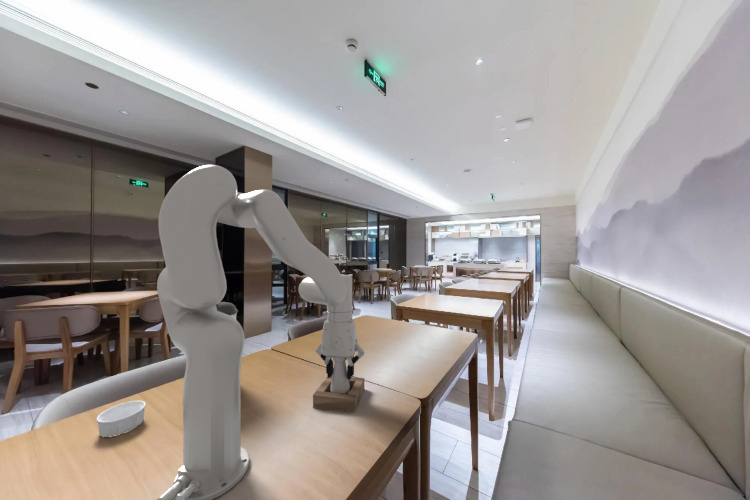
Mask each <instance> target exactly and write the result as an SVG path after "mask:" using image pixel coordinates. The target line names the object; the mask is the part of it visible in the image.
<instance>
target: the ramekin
mask: <svg viewBox="0 0 750 500" xmlns="http://www.w3.org/2000/svg"><path fill="white" fill-rule="evenodd" d="M146 406H147V404H146V402H145V400H144V401H143V400H130V401H126V402H125V401H124V402H122V403H118V404H116V405H112V406H111V407H109V408H107V409H105V410H104V411H102V412H100V413H99V414H98V415H97V416H96V423H97V427H98V434H99V437H101V436H104V437H109V436H114V435H118V434H122V433H124V432H127V431H129V432H131V431H133V430H135V429H136V428H138V427H139V426H140V425H141V424H142V423H143V421H144V417H145V408H146ZM138 425H139V426H138ZM137 426H138V427H137ZM135 427H136V428H135ZM134 428H135V429H134ZM132 429H133V430H132ZM130 430H131V431H130ZM127 433H128V432H127ZM122 435H123V434H122ZM104 437H103V438H104Z"/></svg>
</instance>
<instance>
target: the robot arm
mask: <svg viewBox="0 0 750 500" xmlns="http://www.w3.org/2000/svg"><path fill="white" fill-rule="evenodd" d="M217 223H221V224H225V225H228V226H233V227H238V228H245V229H254V228H255V230H256V231H257V233H258V234H259V235H260V236H261V238H262V239H263V240H264V242H265V243H266V245H267V246H268V248H269V249H270V250H271V251H272V254H273V255H274V256H275V258H277V260H279V261H280V262H282V263H284V264H285V265H287V266H290V267H291V268H294V269H296V270H298V271H300V272H301V273H303V274H304V275H306V277H305V278H303V279H302V280H301V282H300V283H299V286H298V294H299V296H300V297H301V299H302V300H305V301H306V302H308V303H312V304H313V303H314V304H317V305H318V304H320V305H325V306H326V310H325V311H322V317H325V318H326V320H324V321H323V327H322V334H321V341H320V342H321V344H320V345H319V346H317V348H316V349H315V352H316V354H317V355H319V356H320V358H321V359H322V360H323V362H324V365H325V372H326V373H325V374H327V377H328V378H330V377H331V376H332V375H333V369H334V361H333V357H347V360H346V361H347V362H348V365H346V368H347V379H348V380H350V379H351V377H354V375H355V363H357V362H358V361H359V359H361V358H362V357H364V355H365V353H366V352H365V350H364V349H363V348H362V346H361V345H360V344H359V342H358V332H357V328H356V322H355V320H354V319H353V279H352V276H350V275H349V274H341V272H340V271H339V269H338V267H337V265H335V263H334V262H333V260H331V259H330V257H328V256H327V255H326V254H325V253H324V252H322V251H321V249H319V248H318V247H317V246H315V245H314V244H313V243H312V242H310V241H309V239H307V238H306V236H305V235H304V233H303V232H302V230H301V229H300V227H299V225H298V223H297V222H296V220H295V218H294V217H293V215H292V214H291V212H290V210H289V209H288V208H287V206H286V205H285V202H284V201H283V199H282V198H281V197H280V195H278V194H277V192H274V190H272V189H271V190H270V189H258V190H256V189H255V190H253V191H250V192H247V193H243V192H239V191H238V185H237V180H236V178H235V176H234V175H233V173H232V172H231V171H230V170H228V169H227V168H225V167H223V166H220V165H217V164H206V165H202V166H198V167H196V168H193V169H191V170H190V171H189V172H187V173H185V174H184V175H183V176H182V177H180V178H179V179H178V180H177V181H176V182H175V183H174V184H173V185H172V186H171V188H170V189H169V191H168V192H167V194H166V195H165V197H164V199H163V201H162V204H161V205H160V210H159V215H158V233H159V240H160V244H161V248H162V255H163V259H164V264H165V267H164V268H163V270H162V271H160V274H159V275H158V278H157V284H156V289H157V290H156V291H157V294H158V299H159V303H160V306H161V310H162V311H161V312H162V314H163V318H164V321H165V325H166V329H167V332H168V336H169V338H170V341H171V342H172V343H173V345H174V346H175V348H177V349H178V350H179V351H180V352H181V353H183V354H184V355H185V357H186V358H185V360H186V363H185V372H184V376H183V384H182V386H183V387H182V406H183V407H182V409H183V410H182V411H183V415H182V416H183V417H182V419H183V420H182V421H183V422H182V423H183V426H182V427H183V428H182V429H183V431H182V433H183V438H182V441H183V443H182V445H183V450H182V451H183V459H182V461H183V465H182V466H181V467H180V468H178V470H177V474H176V477H175V479H174V480H173V483H172V486H170V487H169V488H168V489H167V490H166V491H165V492H163V493H162V494H161V495H160V496H159V497H158V498H157V499H156V500H214V499H215V500H216V499H217V498H219V497H221V496H223V494H226V493H227V492H228V491H230V490H231V489H232V488H234V487H235V486H236V485H237V484H238V483H239V482H240V481H241V479H242V478H243V477H244V476H245V474H246V473H247V471H248V468H249V466H250V464H249V463H250V455H249V452H248V450H247V449H246V448H245V447H243V446H241V444H242V443H241V439H242V438H241V437H242V435H241V429H242V427H241V426H242V425H241V422H242V421H241V416H242V415H241V413H242V412H241V410H242V409H241V369H242V368H241V367H242V359H243V357H242V356H243V353H244V347H245V332H244V328H243V327H242V325H241V324H240V322H239V321H238V320H237V318H236V319H234V318H233V317H231V316H230V315H227V314H225V313H222V312H219V311H217V308H216V305H217V304H218V303H219V302H222V300H223V299H224V297H225V295H226V293H227V290H228V289H227V288H228V287H227V284H228V283H227V279H226V275H225V270H224V267H223V262H222V258H221V254H220V253H221V252H220V249H219V246H218V238H217ZM356 352H357V354H356V355H355V353H356ZM327 377H326V378H327Z"/></svg>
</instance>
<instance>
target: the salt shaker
mask: <svg viewBox="0 0 750 500" xmlns="http://www.w3.org/2000/svg"><path fill="white" fill-rule="evenodd" d="M332 360H333V375H332V382H331V388H330V391H331V392H332V393H342V394H348V392H349V390H350V385H349V380H348V379H347V364H346V361H348V360H347V357H332Z"/></svg>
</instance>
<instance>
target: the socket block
mask: <svg viewBox="0 0 750 500" xmlns="http://www.w3.org/2000/svg"><path fill="white" fill-rule="evenodd" d="M331 382H332V376H331V377H330V378H328V377H326V378H324V380H323V382H321V384H320V386H318V388H317V389H316V390H315V392H314V393H313V394H312V408H313V409H320V410H331V411H339V412H348V413H355V412H356V410H357V407H358V405H359V403H360V400H361V398H362V396H363V394H364V391H365V378H364V377H356V376H355V377H354V376H352V377H351V379H350V380H349V385H350V390H349V392H348V394H342V393H332V392H331V391H330V388H331Z"/></svg>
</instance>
